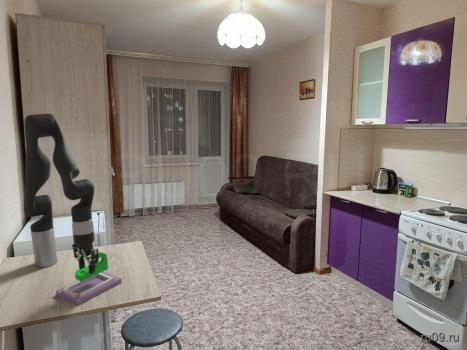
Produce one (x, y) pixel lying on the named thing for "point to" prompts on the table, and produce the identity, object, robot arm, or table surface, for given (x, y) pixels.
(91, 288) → the door panel
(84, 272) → the mechanical part
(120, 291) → the table surface
